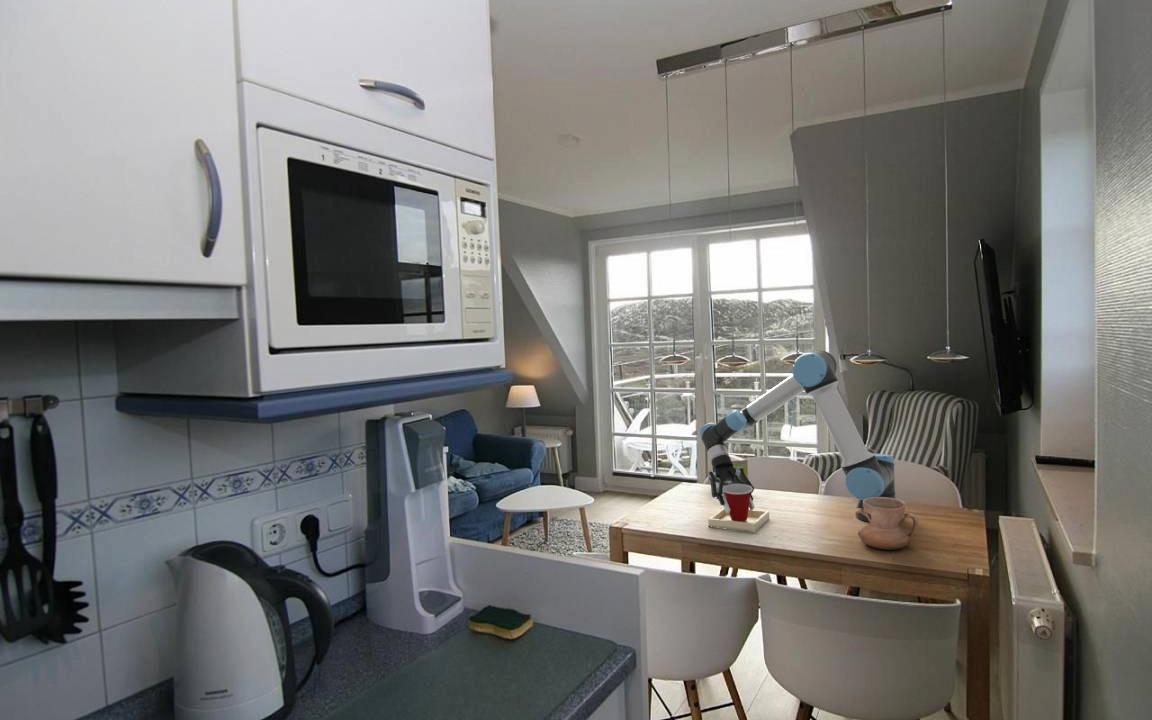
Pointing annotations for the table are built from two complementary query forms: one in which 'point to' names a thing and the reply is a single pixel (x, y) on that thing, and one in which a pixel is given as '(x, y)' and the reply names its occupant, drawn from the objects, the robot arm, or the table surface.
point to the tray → (750, 525)
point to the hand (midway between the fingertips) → (740, 510)
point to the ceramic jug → (885, 523)
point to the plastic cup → (738, 500)
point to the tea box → (737, 464)
